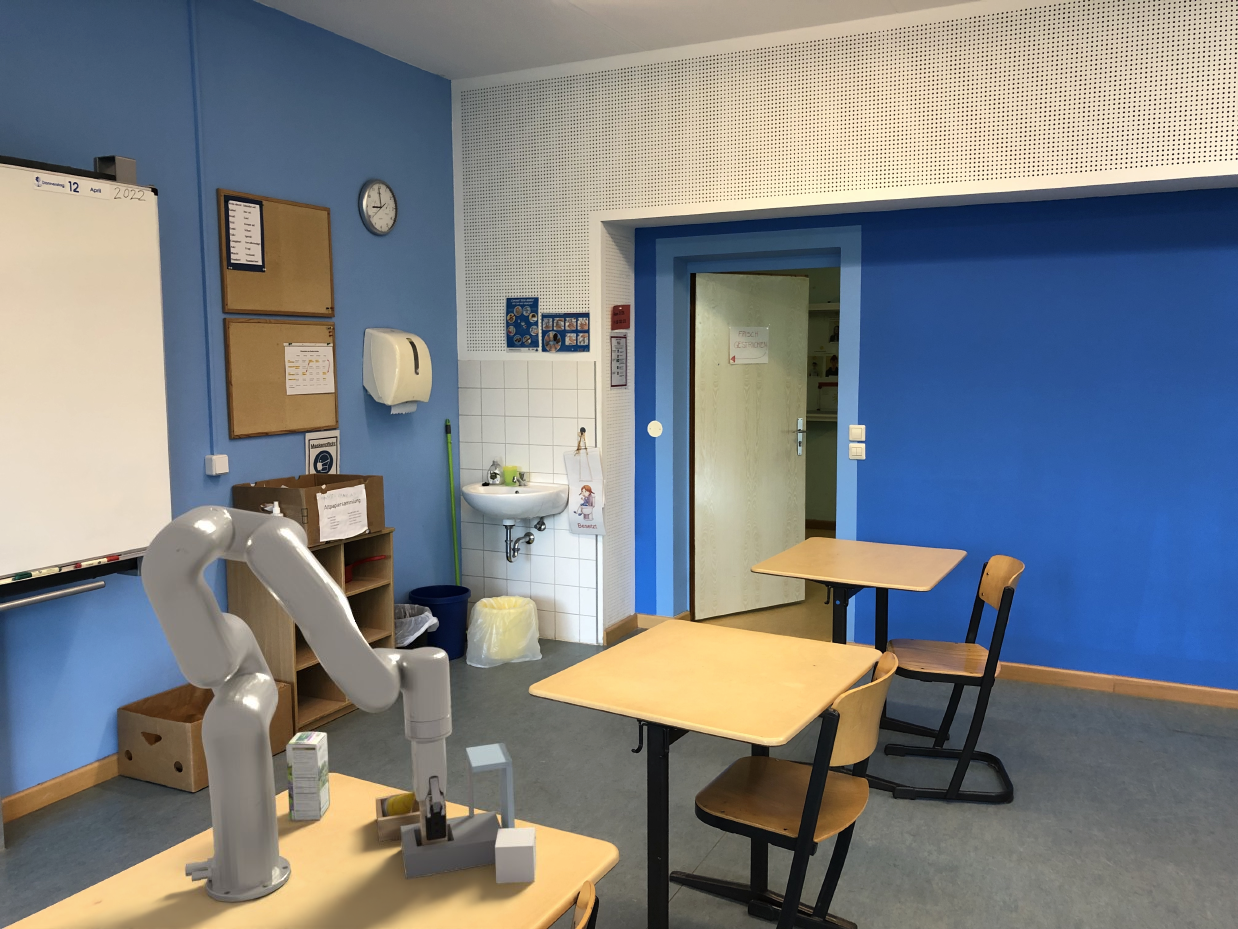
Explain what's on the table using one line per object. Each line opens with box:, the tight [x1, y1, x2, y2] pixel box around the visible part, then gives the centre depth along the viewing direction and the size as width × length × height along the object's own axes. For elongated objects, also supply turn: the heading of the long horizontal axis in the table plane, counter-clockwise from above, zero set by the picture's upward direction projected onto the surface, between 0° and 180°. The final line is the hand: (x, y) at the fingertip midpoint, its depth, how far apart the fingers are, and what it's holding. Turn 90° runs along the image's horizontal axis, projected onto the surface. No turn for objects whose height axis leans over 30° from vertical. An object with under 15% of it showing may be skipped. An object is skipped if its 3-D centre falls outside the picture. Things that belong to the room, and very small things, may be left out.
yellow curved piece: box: [382, 791, 415, 817], centre depth 166 cm, size 5×5×10 cm
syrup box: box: [285, 731, 331, 821], centre depth 172 cm, size 6×6×14 cm
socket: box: [400, 810, 502, 880], centre depth 157 cm, size 16×10×4 cm, turn 107°
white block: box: [495, 826, 537, 884], centre depth 151 cm, size 6×6×6 cm
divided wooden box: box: [374, 791, 420, 844], centre depth 167 cm, size 9×9×4 cm
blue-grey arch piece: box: [465, 742, 516, 829], centre depth 159 cm, size 6×8×16 cm
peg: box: [419, 795, 448, 846], centre depth 156 cm, size 4×4×10 cm
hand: (433, 824), depth 155 cm, fingers open, 9 cm apart
